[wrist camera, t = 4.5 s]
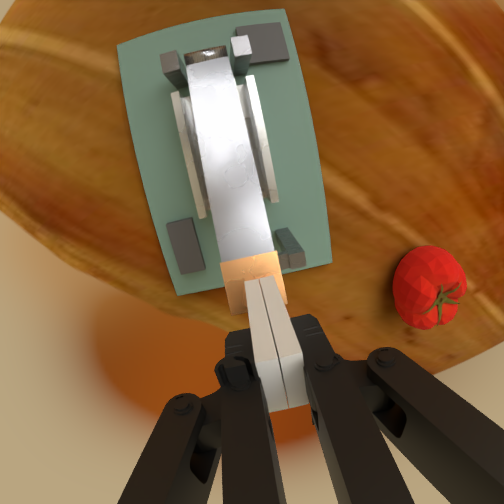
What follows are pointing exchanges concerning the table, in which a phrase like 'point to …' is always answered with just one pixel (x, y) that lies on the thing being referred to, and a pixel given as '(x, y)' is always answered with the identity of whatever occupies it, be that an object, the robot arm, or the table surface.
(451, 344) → the table surface
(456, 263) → the tomato
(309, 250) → the board
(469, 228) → the table surface
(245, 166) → the silver flat strip
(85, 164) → the table surface
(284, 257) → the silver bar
